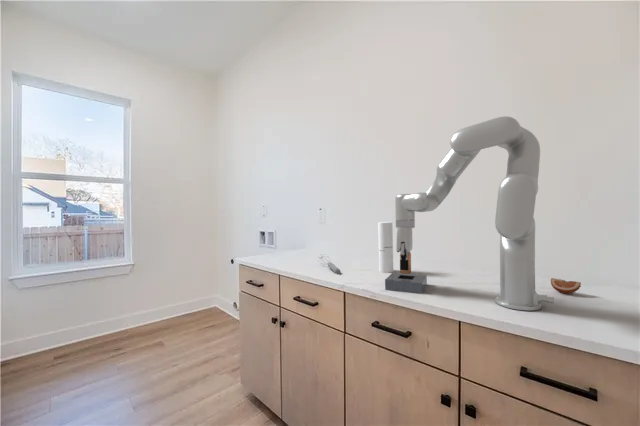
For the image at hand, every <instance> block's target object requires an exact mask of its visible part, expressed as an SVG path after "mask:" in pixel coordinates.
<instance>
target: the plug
mask: <svg viewBox="0 0 640 426" xmlns="http://www.w3.org/2000/svg"><path fill="white" fill-rule="evenodd" d="M405 255H406V254H405ZM408 267H409V269H408V270H400V269H399V273H402V274H412V253H411V252H410V253H408Z"/></svg>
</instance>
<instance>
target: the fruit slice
mask: <svg viewBox="0 0 640 426" xmlns="http://www.w3.org/2000/svg"><path fill="white" fill-rule="evenodd" d="M550 285H551V287H552V288H553V289H554V290H555V291H557V292H558V293H561V294H566V295H567V294H569V295H570V294H573V293H576V292H577V291H579V289H581V287H582V286H581V285H582V283H581V281H573V280H572V281H571V280H570V281H569V280H568V281H567V280H564V279H561V278H553V277H551V278H550Z"/></svg>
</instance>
